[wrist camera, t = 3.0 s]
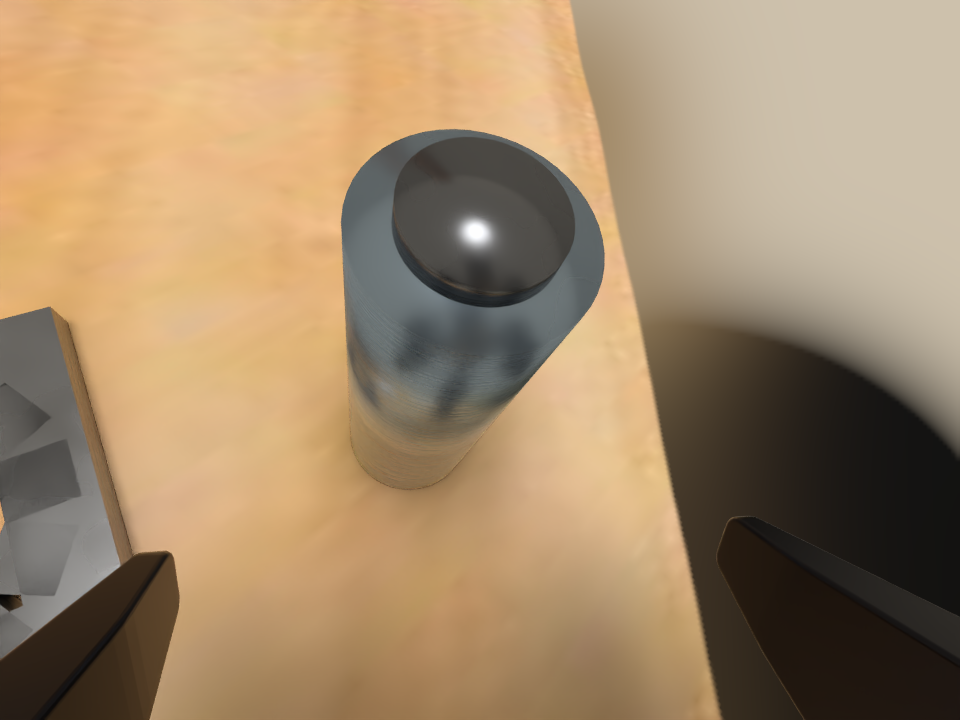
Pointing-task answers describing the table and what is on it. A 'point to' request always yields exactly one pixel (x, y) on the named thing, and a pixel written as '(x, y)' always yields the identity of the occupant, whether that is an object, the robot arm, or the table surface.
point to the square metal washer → (50, 480)
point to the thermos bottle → (455, 292)
